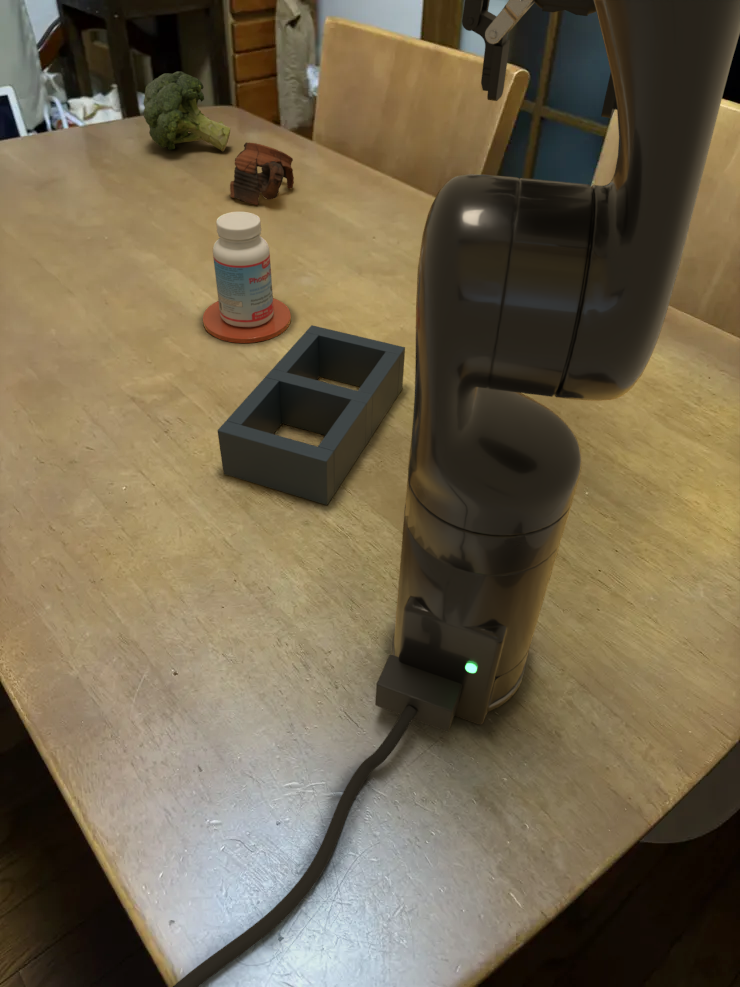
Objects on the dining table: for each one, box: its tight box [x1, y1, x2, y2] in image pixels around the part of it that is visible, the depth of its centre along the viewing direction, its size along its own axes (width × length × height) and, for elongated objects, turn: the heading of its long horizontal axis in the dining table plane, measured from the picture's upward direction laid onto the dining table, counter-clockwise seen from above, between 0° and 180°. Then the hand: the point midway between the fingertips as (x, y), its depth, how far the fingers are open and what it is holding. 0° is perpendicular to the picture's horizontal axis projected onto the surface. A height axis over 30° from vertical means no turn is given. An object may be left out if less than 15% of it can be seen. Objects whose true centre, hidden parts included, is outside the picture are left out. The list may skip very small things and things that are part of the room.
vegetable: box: [143, 70, 231, 152], centre depth 124 cm, size 12×13×15 cm
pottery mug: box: [229, 141, 295, 206], centre depth 111 cm, size 12×10×8 cm
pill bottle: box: [212, 211, 274, 327], centre depth 82 cm, size 6×6×11 cm
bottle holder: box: [217, 324, 406, 506], centre depth 71 cm, size 19×10×5 cm, turn 158°
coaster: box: [202, 297, 292, 344], centre depth 86 cm, size 10×10×1 cm
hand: (550, 106), depth 56 cm, fingers open, 8 cm apart
